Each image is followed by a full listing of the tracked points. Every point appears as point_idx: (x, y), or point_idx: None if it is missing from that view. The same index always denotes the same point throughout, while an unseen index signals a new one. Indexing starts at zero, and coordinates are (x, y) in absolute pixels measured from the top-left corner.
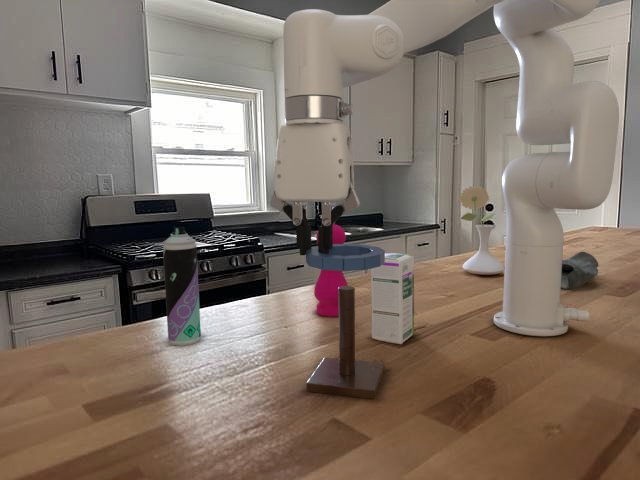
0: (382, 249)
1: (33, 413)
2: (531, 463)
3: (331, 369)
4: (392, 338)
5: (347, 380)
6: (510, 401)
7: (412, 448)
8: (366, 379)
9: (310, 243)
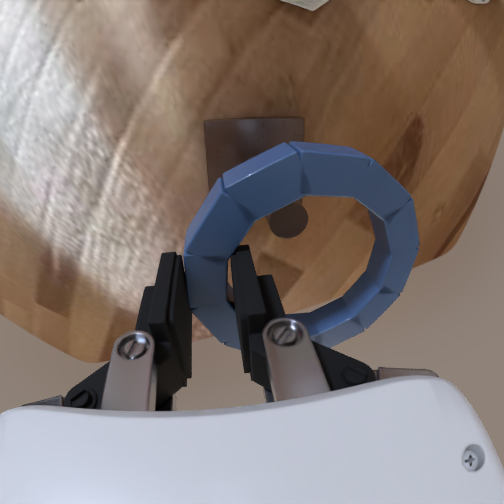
0: (417, 235)
1: (26, 319)
2: None
3: (230, 163)
4: (299, 4)
5: None
6: (426, 171)
7: (336, 272)
8: None
9: (180, 278)
